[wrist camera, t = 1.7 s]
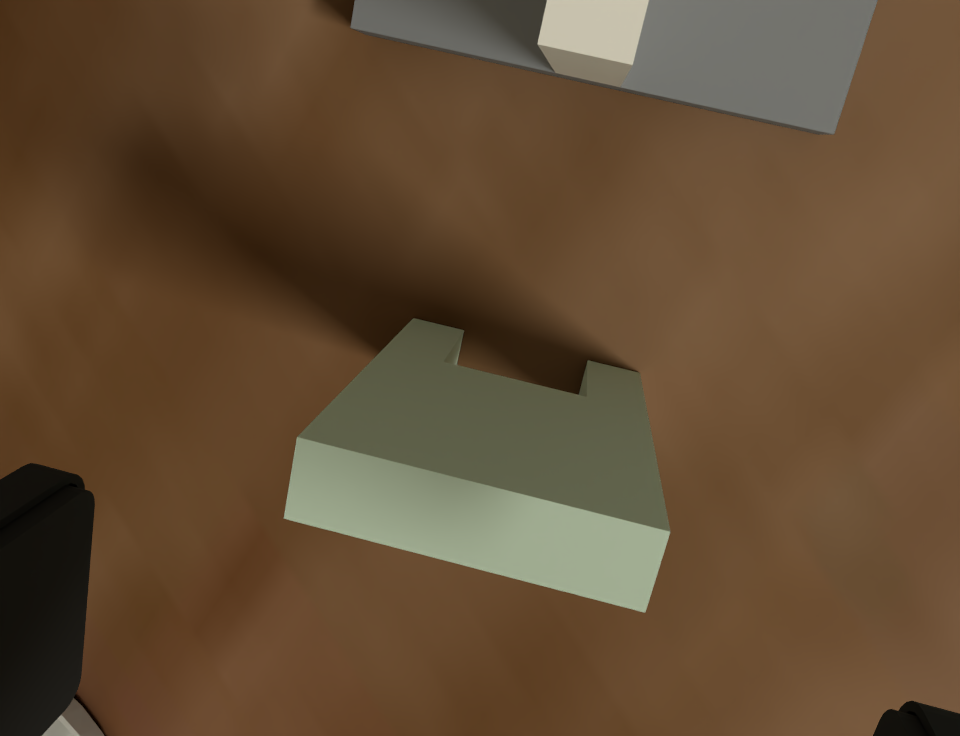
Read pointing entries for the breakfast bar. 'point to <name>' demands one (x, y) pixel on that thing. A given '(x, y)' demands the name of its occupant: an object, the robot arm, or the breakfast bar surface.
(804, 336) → the breakfast bar surface
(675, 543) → the breakfast bar surface
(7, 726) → the robot arm
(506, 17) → the stand
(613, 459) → the green slotted plate
